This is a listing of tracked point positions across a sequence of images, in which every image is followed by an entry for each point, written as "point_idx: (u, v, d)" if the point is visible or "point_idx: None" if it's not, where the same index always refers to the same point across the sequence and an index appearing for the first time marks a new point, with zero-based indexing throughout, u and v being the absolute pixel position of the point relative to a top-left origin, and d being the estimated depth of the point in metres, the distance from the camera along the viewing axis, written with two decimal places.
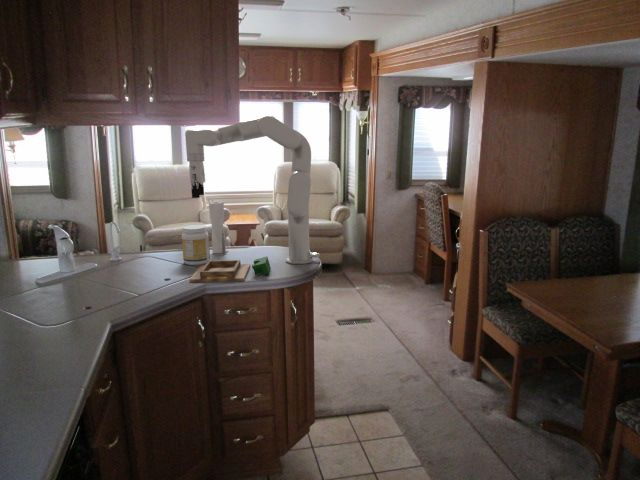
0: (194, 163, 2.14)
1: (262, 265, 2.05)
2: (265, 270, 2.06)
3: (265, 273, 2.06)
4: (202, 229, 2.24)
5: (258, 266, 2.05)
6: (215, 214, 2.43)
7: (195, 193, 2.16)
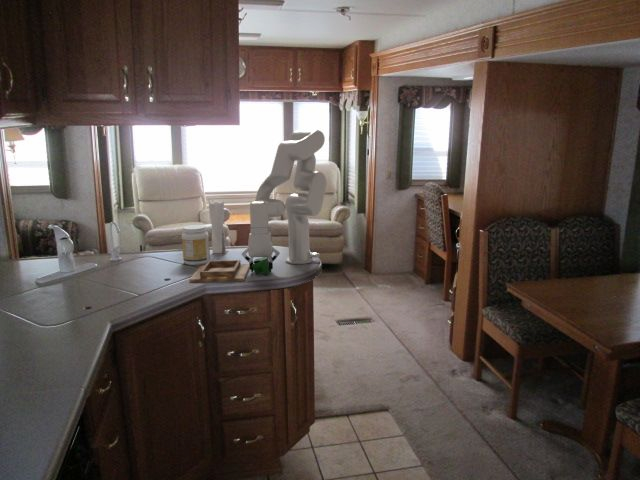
0: (270, 235, 2.09)
1: (262, 265, 2.05)
2: (265, 270, 2.06)
3: (265, 273, 2.06)
4: (202, 229, 2.24)
5: (258, 266, 2.05)
6: (215, 214, 2.43)
7: (272, 266, 2.11)
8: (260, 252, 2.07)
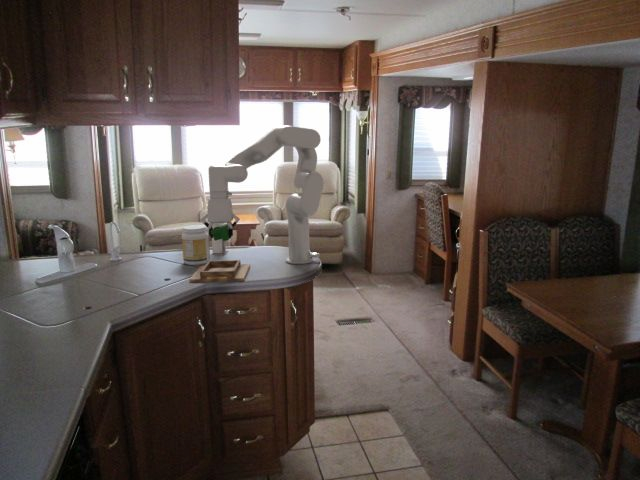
0: (230, 200, 2.04)
1: (221, 230, 2.01)
2: (224, 235, 2.01)
3: (224, 238, 2.02)
4: (202, 229, 2.24)
5: (217, 231, 2.01)
6: None
7: (232, 232, 2.07)
8: (219, 217, 2.03)
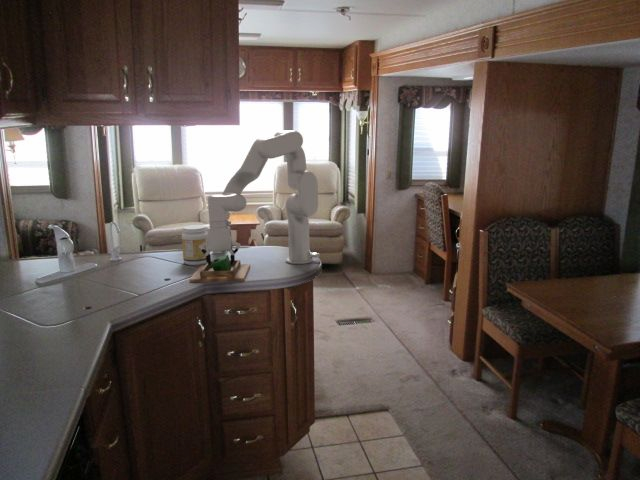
0: (229, 228, 2.07)
1: (221, 263, 2.04)
2: (224, 268, 2.04)
3: None
4: (202, 229, 2.24)
5: (217, 264, 2.04)
6: None
7: (234, 258, 2.09)
8: (218, 246, 2.05)
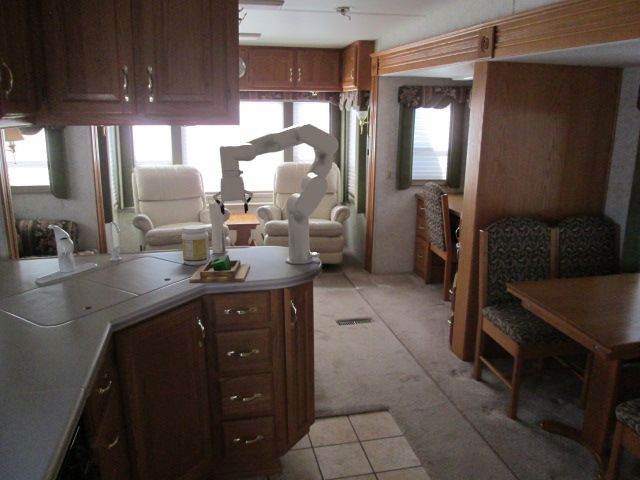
0: (242, 178, 2.12)
1: (221, 263, 2.04)
2: (224, 268, 2.04)
3: None
4: (202, 229, 2.24)
5: (217, 264, 2.04)
6: (215, 214, 2.43)
7: (247, 208, 2.14)
8: (232, 195, 2.10)
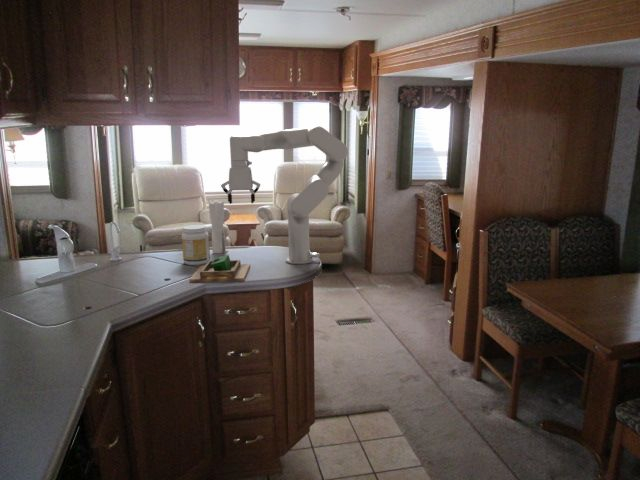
0: (250, 169, 2.17)
1: (221, 263, 2.04)
2: (224, 268, 2.04)
3: None
4: (202, 229, 2.24)
5: (217, 264, 2.04)
6: (215, 214, 2.43)
7: (254, 198, 2.19)
8: (240, 185, 2.15)
